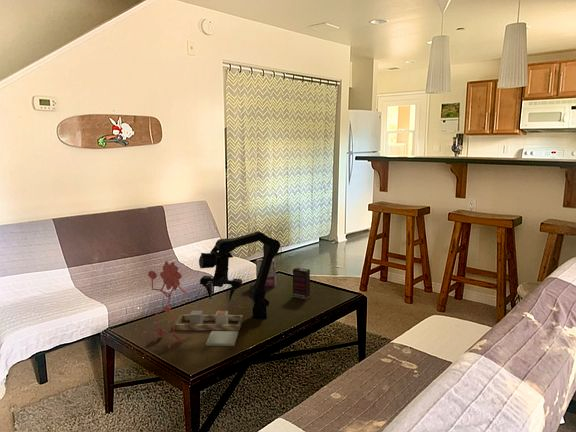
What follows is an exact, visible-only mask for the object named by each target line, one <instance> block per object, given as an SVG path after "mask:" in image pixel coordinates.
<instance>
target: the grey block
mask: <svg viewBox="0 0 576 432" xmlns="http://www.w3.org/2000/svg"><path fill="white" fill-rule="evenodd" d="M189 315H190V320H189V324H204V320H203V315H204V310H191V312H190V313H189Z"/></svg>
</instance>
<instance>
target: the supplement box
mask: <svg viewBox="0 0 576 432" xmlns="http://www.w3.org/2000/svg"><path fill="white" fill-rule="evenodd" d="M310 284H311V269H307V268H302V267H298V266H297V267H295V268H293V269H292V297H293V298H298V299H303V300H307V299H309V298H311V288H310V287H311V285H310Z"/></svg>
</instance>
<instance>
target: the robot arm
mask: <svg viewBox="0 0 576 432" xmlns="http://www.w3.org/2000/svg"><path fill="white" fill-rule="evenodd" d="M256 242H260V243H262V244H263V245H262V251H263V257H262V258H261V259H262V263H261V266H260V269H259V273H258V276H257V280H255V283H254V284H253V285H249V290H248V292H247V294H248V298H249V299H250V300H251V301H252V303H253V306H252V317H253V319H267V318H268V307H269V305H270V301H269V300H267V298H266V287H265V284H266V280H267V277H268V273H269V270H270V267H271V263H272V260H273V259H275V257H276V255H277V254H278V252H279V250H280V248H281V243H280V241H279V240H277V239H275V238H273V237H270V236H268V235H266V234H264V232H261V231H259V230H258V231H254V232H251V233H248V234H244V235H241V236H238V237H233V238H220V239H217V240H216V242H215V245H214V247H213V248H212V249H211V250H210V252H205V253H204V252H201V253H200V257H199V259H198V264H199V265H198V266H199V268H200V269H213V268H215V269H214V273H213V277H212V276H211V275H203V276H202V277H200V279H199V284H200V285H202V287H204V288H205V289H206V291H207V294H208V297H209V299H210V300H211V299H212V295H213V294H212V293H213V292H212V291H213V289H212V288H213V287H219V288H222V287H224V285H230V286H231V287H230V292H229V299H228V301H230V302H231V300H232V298H233V295H234V293H235V291H236V290H238V289H240V288H241V287H242V285H243V280H242V279H241V278H233V279H232V280H229V260H230V259H231V258H233V259H234V255H232V253H231V252H232V251H234V250H236V249H237V248H240V247H242V246H246V245H249V244H252V243H256ZM229 258H230V259H229Z"/></svg>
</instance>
